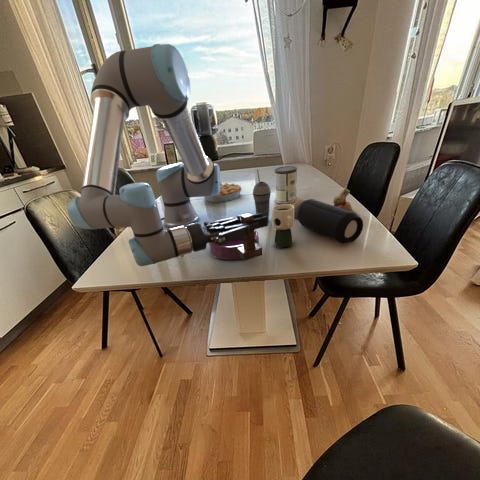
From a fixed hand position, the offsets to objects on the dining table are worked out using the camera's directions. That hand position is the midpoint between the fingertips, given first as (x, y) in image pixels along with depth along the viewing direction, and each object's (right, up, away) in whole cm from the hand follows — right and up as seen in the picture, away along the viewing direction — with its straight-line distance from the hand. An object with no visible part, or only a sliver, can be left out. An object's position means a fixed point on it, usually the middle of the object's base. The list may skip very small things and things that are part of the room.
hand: (264, 219), depth 83 cm
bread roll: (+18, +16, +38) cm, 45 cm away
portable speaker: (+24, +2, +19) cm, 31 cm away
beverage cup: (+3, +11, +35) cm, 37 cm away
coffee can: (+15, +29, +55) cm, 64 cm away
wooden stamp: (-4, -10, +5) cm, 11 cm away
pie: (-17, +38, +71) cm, 82 cm away
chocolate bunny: (+36, +15, +35) cm, 52 cm away
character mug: (+8, -4, +15) cm, 18 cm away
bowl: (-9, -5, +16) cm, 19 cm away
